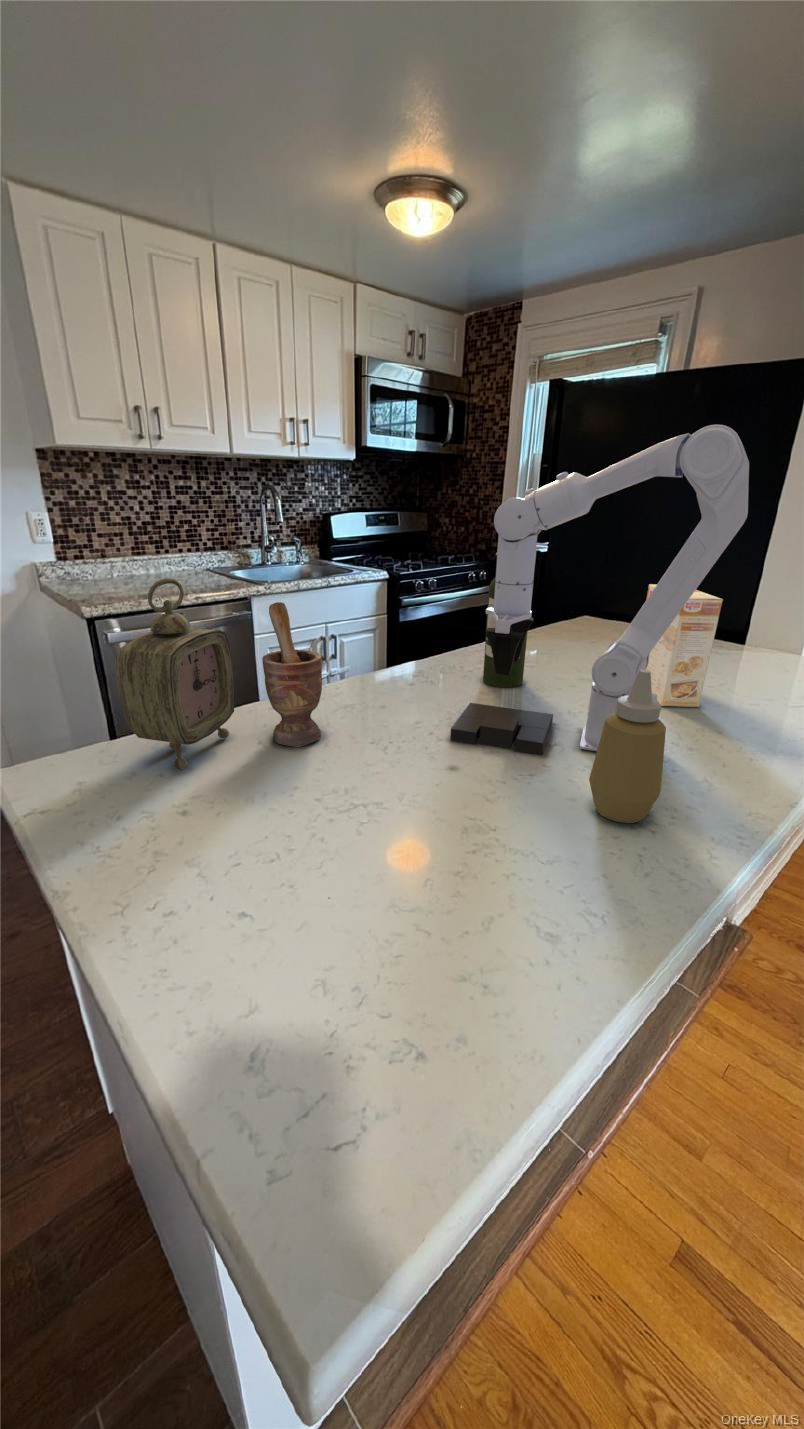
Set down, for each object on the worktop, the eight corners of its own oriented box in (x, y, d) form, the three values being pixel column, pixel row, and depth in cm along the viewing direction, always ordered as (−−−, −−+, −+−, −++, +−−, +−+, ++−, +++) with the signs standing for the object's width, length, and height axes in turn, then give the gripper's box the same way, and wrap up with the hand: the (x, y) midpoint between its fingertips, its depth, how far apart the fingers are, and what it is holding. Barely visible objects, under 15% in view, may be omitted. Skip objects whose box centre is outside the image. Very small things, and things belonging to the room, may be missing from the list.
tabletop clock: (184, 778, 76) (154, 590, 66) (127, 769, 78) (90, 586, 69) (240, 735, 89) (222, 572, 79) (190, 728, 91) (167, 569, 81)
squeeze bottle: (652, 800, 72) (681, 664, 65) (657, 835, 65) (689, 687, 58) (586, 789, 74) (606, 657, 67) (583, 822, 67) (605, 678, 60)
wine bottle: (482, 686, 111) (492, 525, 99) (483, 674, 118) (493, 522, 107) (523, 689, 110) (538, 526, 98) (522, 676, 117) (536, 523, 105)
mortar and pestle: (247, 731, 90) (234, 606, 83) (292, 716, 96) (283, 598, 88) (291, 754, 83) (281, 619, 75) (336, 736, 89) (331, 609, 81)
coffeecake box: (700, 707, 102) (725, 598, 94) (660, 707, 102) (682, 598, 94) (665, 680, 115) (684, 583, 108) (630, 679, 115) (647, 583, 108)
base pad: (551, 725, 94) (553, 714, 93) (541, 755, 83) (543, 743, 82) (469, 713, 98) (470, 702, 97) (450, 740, 88) (450, 728, 87)
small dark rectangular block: (516, 737, 89) (518, 720, 88) (511, 749, 85) (513, 730, 84) (485, 732, 91) (486, 715, 89) (479, 743, 87) (480, 725, 86)
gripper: (498, 573, 94) (492, 652, 99) (477, 587, 82) (472, 677, 87) (541, 576, 92) (532, 657, 97) (526, 591, 79) (518, 683, 84)
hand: (507, 667), depth 92 cm, fingers open, 7 cm apart
